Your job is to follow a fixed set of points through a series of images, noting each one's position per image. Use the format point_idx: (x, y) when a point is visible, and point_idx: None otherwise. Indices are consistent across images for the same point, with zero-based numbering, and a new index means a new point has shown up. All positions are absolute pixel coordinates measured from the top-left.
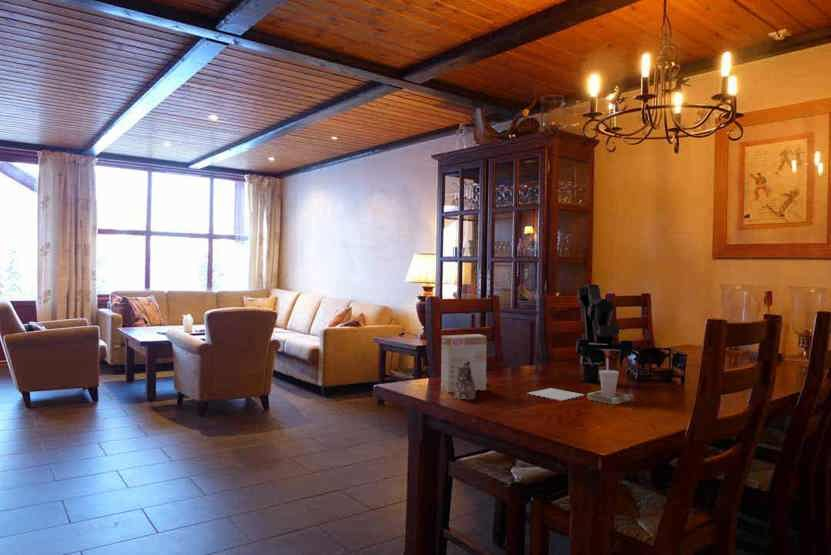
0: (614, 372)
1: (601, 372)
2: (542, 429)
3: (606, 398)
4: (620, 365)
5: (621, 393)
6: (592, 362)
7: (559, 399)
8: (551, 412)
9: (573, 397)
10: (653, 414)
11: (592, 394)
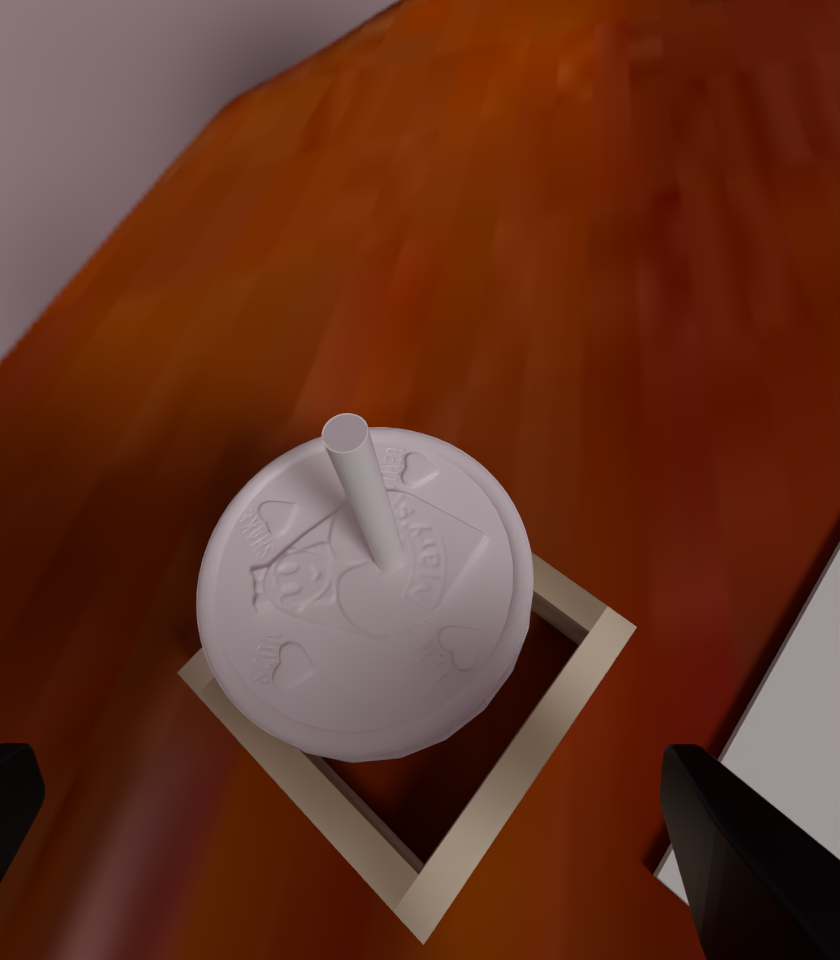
0: (291, 500)
1: (502, 490)
2: (796, 4)
3: None
4: (8, 775)
5: (245, 729)
6: (735, 788)
7: None
8: (835, 211)
9: (769, 675)
10: (214, 300)
11: (579, 600)
